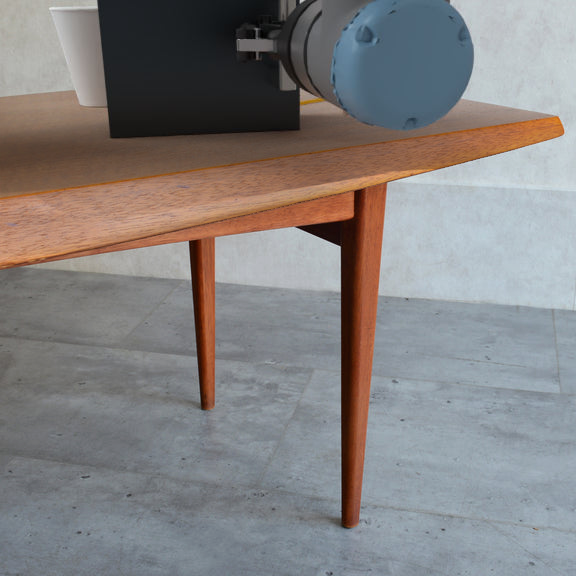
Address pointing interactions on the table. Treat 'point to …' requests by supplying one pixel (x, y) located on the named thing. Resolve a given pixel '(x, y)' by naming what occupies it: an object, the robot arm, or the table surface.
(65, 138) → the table surface
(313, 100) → the pencil
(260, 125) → the door
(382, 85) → the robot arm
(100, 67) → the cup
